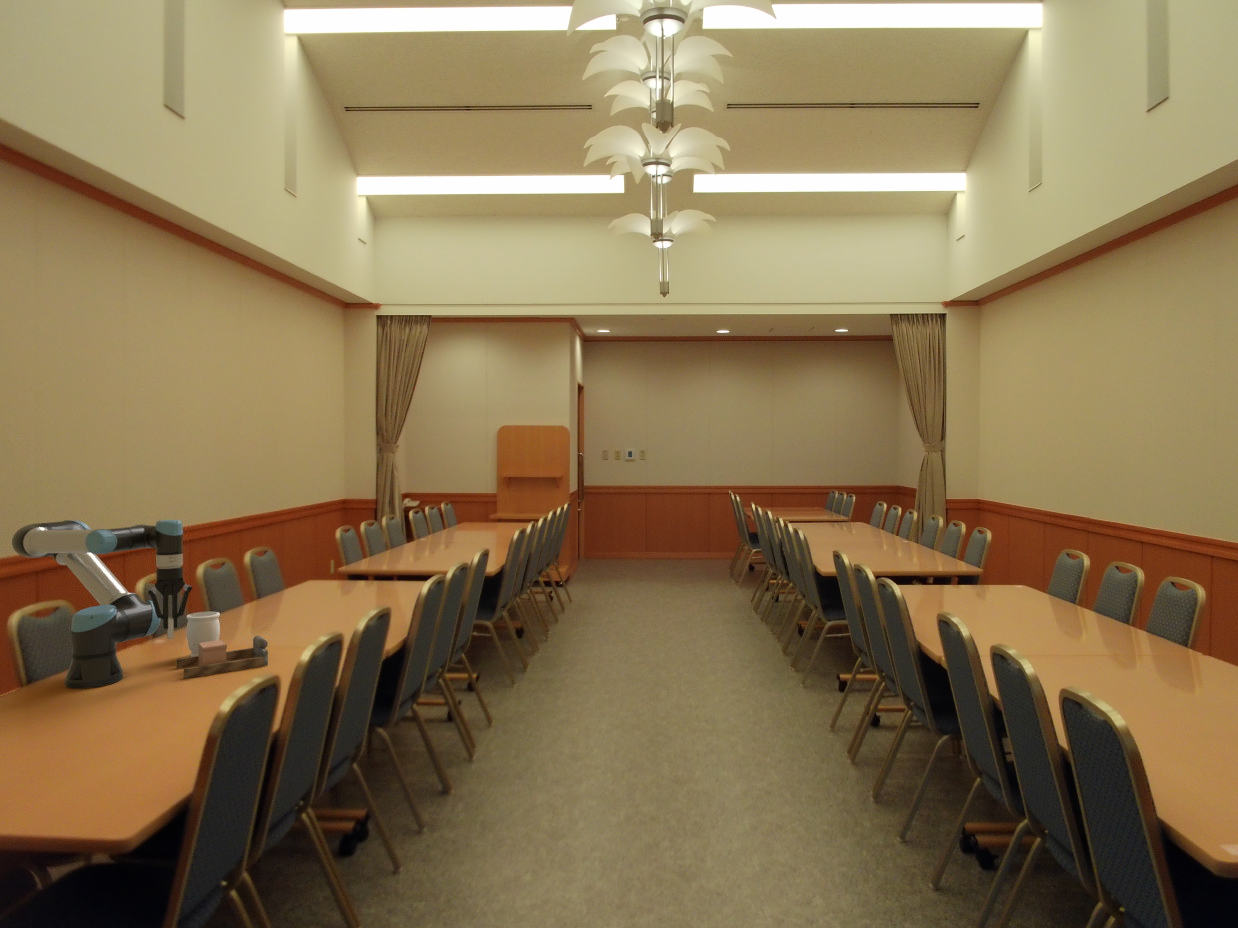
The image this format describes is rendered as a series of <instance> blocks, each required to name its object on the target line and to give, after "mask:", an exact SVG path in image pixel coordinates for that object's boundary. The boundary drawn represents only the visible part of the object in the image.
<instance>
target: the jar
mask: <svg viewBox="0 0 1238 928" xmlns="http://www.w3.org/2000/svg"><path fill="white" fill-rule="evenodd" d="M220 616H221V613H220V612H219V611H200V612H198V611H197V612H193V613H190V614H187V615H186V620H187V624H186V631H185V632H186V640H187V645H188V648H189V650H190V652H191V653H190V654H189V657H193V656H199V648H198V643H202V642H209V641H216V640H220V639H219V638H220V633H221V625H220V620H219V617H220Z"/></svg>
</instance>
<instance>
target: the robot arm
mask: <svg viewBox="0 0 1238 928" xmlns="http://www.w3.org/2000/svg"><path fill="white" fill-rule="evenodd" d="M183 542H184V530H183V523H182V520H179V519H163V520H162V519H161V520H158V521H156V523H155V525H148V524H147V525H146V524H136V525H135V524H134V525H131V526H128V527H118V528H115V527H114V528H105V529H104V528H102V529H101V528H99V529H97V528H96V529H94V528H93V529H92V528H91V527H90V526H89V525H88V524H86V523H85V522H84V521H81V520H70V519H67V520H62V521H52V522H41V523H40V522H38V523H37V522H36V523H31V524H27V525H24V526H22V527H21V528H19V529H18V530H17V531H16V532H15V533H14V534H13V535H12V539H11V546H12V549H13V551H14V552H15V553H17V554H18V555H20V556H21V557H25V558H27V559H28V558H29V559H36V558H37V559H38V558H46V557H52V558H53V559H54V561H56V563H57V564H59V565H61V566H67V568H68V569H69V570H70V571H71V573H72V574H73V575H74V576H75V577H76V579H78V581H80V583H81V584H82V585H83V586H84V588H85V589H86V590H87V591H88V592H89V593H90V594H91V596H92V597H93V598H94V599H95V600H96V602H98V604H99V605H95V606H90V607H86V608H84V609H81V610H79V611H76V613H74V614H73V616H72V619H71V625H70V630H71V662H70V665H69V667H68V670H67V673H66V674H65V679H64V686H65V688H67V689H76V690H77V689H78V690H79V689H91V688H98V687H105V686H107V685H108V686H109V685H111V684H114V683H118V682H120V681H122V680H123V678H124V670H123V668H122V664H120V663H121V662H120V661H119V658H118V655H117V644H120V643H123V642H128V641H133V640H136V639H139V638H140V639H142V638H144V637H147V636H151V635H152V634H154V633H155V632H156V631H157V630H158V628H159V627H160V624H161V620H163V624H162V625H163V626H162V628H163V629H164V630H166V638H167V640H173V639H175V638H174V637H175V634H174V633H175V632H174V631H175V629H177V628H178V618H179V617H181V616H184V614H185V610H186V606H187V603H188V598H189V595H190V593H191V592H192V591H193V586H192V585H190V584H189V585H188V584H187V583H186V582H185V580H184V567H183V565H184V550H183V549H184V548H183V546H184V543H183ZM142 549H156V552H155V553H156V559H155V560H156V561H155V563H156V564H155V565H156V567H157V568H156V575H155V576H156V581H155V583H154V586H153V587H151V588H150V589H147V590H146V593H148V595H149V596H150V598H151V600H143V599H142V598H141V597H140V596H139V594H138V593H136V592H129V591H128V590H127V588H126V587H125V586H124V585H123V584H122V583H121V582H120V580H119V578H117V577H116V576H115V575H114V573H112V571H111V569H109V568H108V566H106V564H105V563H104V562H103V561H102V559H100V557H99V556H98V555H106V554H110V553H118V552H126V551H134V550H142ZM182 589H183V593H182V598H181V600H180V601H181V602H180V605H179V608H178V594H180V592H181V590H182ZM157 591H158V592H159V593H160V594H161V595H162V611H161V609H160V605H159V601H158V597H157V595H156V594H157ZM169 596H171V615H172V616H171V617H169Z"/></svg>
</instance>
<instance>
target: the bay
mask: <svg viewBox="0 0 1238 928" xmlns="http://www.w3.org/2000/svg"><path fill="white" fill-rule="evenodd" d="M268 645H269V643H268V641H267V640H266V639H265V638H263V637H262V636H261V635H255V636H254V637H253V638H252V647H249V648H243V649H234V650H229V651H227V650H226V662H223V663H216V664H210V665H204V666H199V656H193V657H190V656H188V657H181V658H176V669H183V679H190V678H192V679H193V678H196V677H197V678H198V677H203V676H204V677H205V676H209V675H214V674H221V673H226V672H227V673H229V672H233V671H240V670H246V669H251V668H252V669H253V668H259V667H264V666H269V665H268V664H269V660H268V659H269V656H268V655H269V653H268V652H269V651H268V649H266V648H267V647H268Z"/></svg>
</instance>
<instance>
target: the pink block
mask: <svg viewBox="0 0 1238 928" xmlns="http://www.w3.org/2000/svg"><path fill="white" fill-rule="evenodd" d="M198 648H199V665H198V666H204V665H210V664H216V663H223V662H227V661H226V652H227V648H228V646H227V644H226V643H225V642H224V641H223V640H222V639H219V640H216V641H209V642H202V643H198Z"/></svg>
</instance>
